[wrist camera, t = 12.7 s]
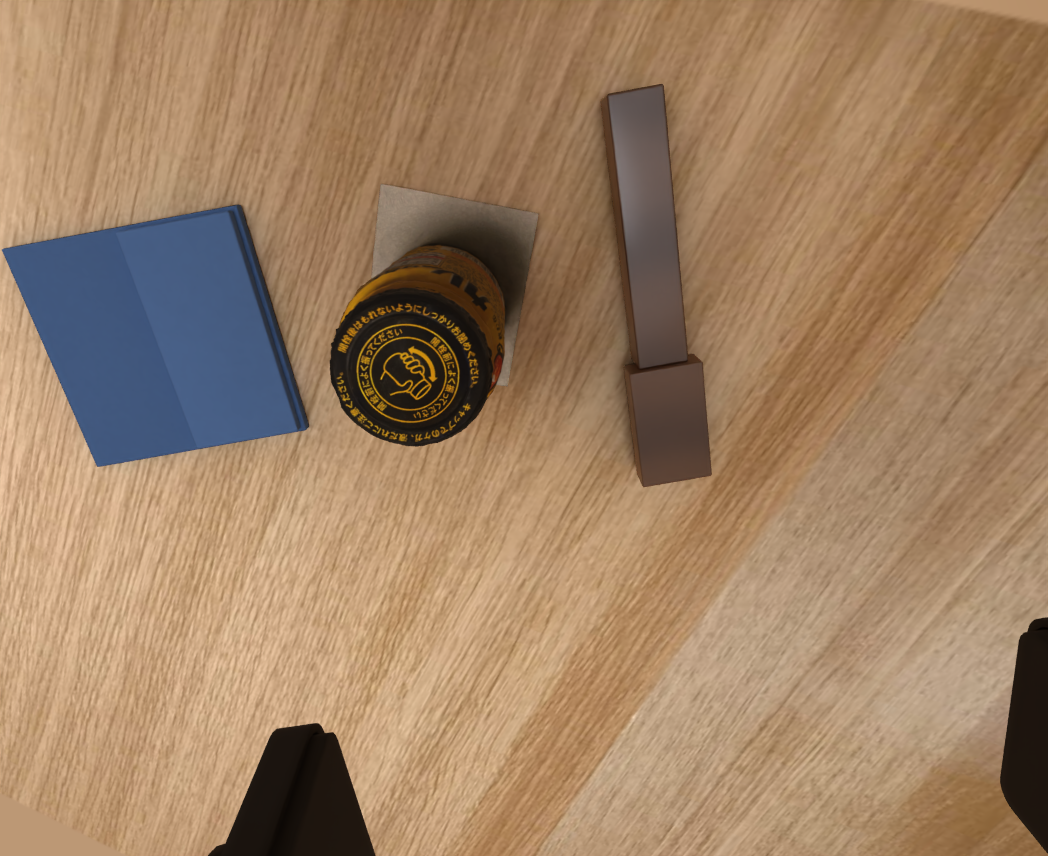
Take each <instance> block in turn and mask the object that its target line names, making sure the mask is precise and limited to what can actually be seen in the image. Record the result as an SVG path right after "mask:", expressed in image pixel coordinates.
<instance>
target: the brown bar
mask: <svg viewBox="0 0 1048 856" xmlns="http://www.w3.org/2000/svg"><path fill="white" fill-rule="evenodd" d="M600 103H601V111H602V119H603V127H604V136H605V144H606V152H607V161H608V169H609V177H610V185H611V194H612V202H613V210H614V219H615V227H616V235H617V243H618V252H619V260H620V268H621V277H622V285H623V293H624V301H625V310H626V318H627V326H628V335H629V343H630V351H631V359H632V360H633V361H634V364H628V365H624V374H625V382H626V390H627V398H628V406H629V414H630V422H631V430H632V438H633V446H634V454H635V462H636V470H637V475H638V477H639V479H640V482H641V484H642V486H643V487H648V486H654V485H660V484H665V483H671V482H677V481H683V480H689V479H695V478H700V477H706V476H711V475H712V473H711V460H710V448H709V436H708V424H707V411H706V399H705V387H704V375H703V363H702V361H701V360H700V359H698V358H697V357H696V356H695V355H694V354H689V355H688V351H687V340H686V329H685V317H684V306H683V295H682V284H681V273H680V262H679V250H678V239H677V228H676V217H675V206H674V195H673V183H672V172H671V161H670V150H669V139H668V128H667V116H666V105H665V94H664V86H663V84H658V85H653V86H648V87H642V88H637V89H632V90H627V91H621V92H616V93H611V94H608V95H606V96H605V97H604V98H603V99H602V100H601V101H600Z"/></svg>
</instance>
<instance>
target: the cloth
mask: <svg viewBox="0 0 1048 856" xmlns="http://www.w3.org/2000/svg"><path fill="white" fill-rule="evenodd" d="M2 251H3V254H4V256H5V258H6V260H7V263H8V265H9V267H10V269H11V272H12V274H13V276H14V279H15V281H16V283H17V285H18V288H19V290H20V292H21V294H22V297H23V299H24V301H25V304H26V306H27V308H28V310H29V313H30V315H31V317H32V319H33V322H34V324H35V326H36V329H37V331H38V333H39V335H40V338H41V340H42V342H43V344H44V347H45V349H46V351H47V354H48V356H49V358H50V360H51V363H52V365H53V367H54V369H55V372H56V374H57V376H58V379H59V381H60V383H61V385H62V388H63V390H64V392H65V394H66V397H67V399H68V401H69V404H70V406H71V408H72V410H73V413H74V415H75V417H76V419H77V422H78V424H79V426H80V429H81V431H82V433H83V435H84V438H85V440H86V442H87V445H88V447H89V449H90V451H91V454H92V456H93V458H94V460H95V463H96V465H97V467H100V466H106V465H112V464H117V463H123V462H129V461H134V460H140V459H146V458H151V457H157V456H163V455H168V454H174V453H179V452H185V451H191V450H196V449H202V448H208V447H213V446H219V445H225V444H230V443H236V442H242V441H247V440H253V439H259V438H264V437H270V436H276V435H281V434H287V433H292V432H298V431H304V430H306V429H307V428H308V427H309V424H308V421H307V418H306V414H305V411H304V408H303V405H302V401H301V398H300V395H299V392H298V389H297V385H296V382H295V379H294V376H293V372H292V369H291V366H290V363H289V359H288V356H287V353H286V350H285V346H284V343H283V340H282V337H281V333H280V330H279V327H278V324H277V321H276V317H275V314H274V311H273V308H272V304H271V301H270V298H269V295H268V291H267V288H266V285H265V282H264V278H263V275H262V272H261V269H260V266H259V262H258V259H257V256H256V253H255V249H254V246H253V243H252V240H251V236H250V233H249V230H248V227H247V223H246V220H245V217H244V214H243V211H242V207H241V205H233V206H228V207H223V208H217V209H212V210H207V211H201V212H196V213H191V214H185V215H180V216H175V217H170V218H164V219H159V220H154V221H148V222H143V223H138V224H132V225H127V226H122V227H116V228H111V229H106V230H100V231H95V232H90V233H84V234H79V235H74V236H68V237H63V238H58V239H53V240H47V241H42V242H37V243H31V244H26V245H21V246H15V247H10V248H5V249H2Z"/></svg>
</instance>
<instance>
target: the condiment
mask: <svg viewBox="0 0 1048 856" xmlns="http://www.w3.org/2000/svg"><path fill="white" fill-rule="evenodd" d="M537 220H538V213H533V212H528V211H521V210H517V209H512V208H507V207H502V206H496V205H490V204H486V203H481V202H475V201H470V200H465V199H460V198H454V197H449V196H445V195H439V194H433V193H428V192H423V191H417V190H412V189H406V188H401V187H396V186H391V185H385V184H381V185H380V195H379V204H378V216H377V224H376V237H375V245H374V253H373V265H372V277H371V280H369V281H368V282H367V283H366V284H365V285H363V286H361V287H360V288H359V289H358V290H357V292H356V294H355V296H354V298H353V299H352V300H351V301H350V302H349V304H348V306H347V308H346V311H345V312H344V313H343V316H342V318H341V321H340V325H339V328H338V329H336V335H335V338H334V342H333V343H331V346H332V349H331V360H330V375H331V383H332V385H333V387H334V389H335V391H336V394H337V396H338V397H339V400H340V404H341V408H342V409H343V410H344V412H345V413H346V414H347V415H348V416H349V418H351V419H352V420H353V421H354V422H355V423H356V424H357V425H358V426H360V427H361V428H363V429H364V430H365V431H367V432H368V433H370V434H371V435H373V436H375V437H377V438H379V439H382V440H385V441H389V442H392V443H396V444H401V445H405V446H424V445H427V444H432V443H438V442H441V441H443V440H445V439H448V438H450V437H452V436H454V435H456V434H457V433H459V432H461V431H462V430H463V429H465V428H467V426H468V425H469V424H470V423H471V422H472V421H473V420H474V419H475V418H476V417H477V416H478V414H479V412H480V411H481V410H482V408H483V406H484V404H485V402H486V400H487V398H488V397H489V396H490V394H491V393H492V392H493V390H494V388H495V386H496V385H501V386H508V381H509V375H510V369H511V364H512V358H513V352H514V347H515V342H516V336H517V330H518V325H519V319H520V313H521V308H522V303H523V297H524V292H525V287H526V281H527V275H528V270H529V264H530V259H531V253H532V247H533V242H534V237H535V231H536V225H537Z"/></svg>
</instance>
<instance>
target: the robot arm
mask: <svg viewBox="0 0 1048 856" xmlns="http://www.w3.org/2000/svg"><path fill="white" fill-rule="evenodd" d="M1000 783H1001V788H1002V791H1003V794H1004V797H1005V799H1006V801H1007V802H1008V804H1009V806H1010V807H1011V809H1012V810H1013V812H1014V813H1015V814H1016V815H1017V816H1018V818H1019V819H1020V820H1021V821H1022V823H1023V824H1024V825H1025V826H1026V828H1027V829H1028V830H1029V831H1030V832H1031V834H1032V835H1033V836H1034V837H1035V839H1036V840H1037V841H1038V842H1039V843H1040V845H1041V846H1042V847H1043V848H1044V850H1045V851H1046V852H1047V853H1048V617H1047V618H1040V619H1036V620H1034V621H1033V622H1032V623H1031V624H1030V625H1029V628H1028V632H1025V633H1023V634H1022V635H1021V636H1020V639H1019V644H1018V652H1017V659H1016V666H1015V674H1014V681H1013V688H1012V695H1011V703H1010V710H1009V717H1008V725H1007V732H1006V739H1005V746H1004V754H1003V761H1002V768H1001V776H1000ZM208 856H375V853H374V849H373V846H372V843H371V840H370V837H369V834H368V831H367V828H366V825H365V822H364V819H363V816H362V813H361V810H360V807H359V804H358V800H357V797H356V794H355V791H354V788H353V785H352V782H351V779H350V776H349V773H348V770H347V767H346V764H345V761H344V758H343V754H342V751H341V748H340V745H339V742H338V739H337V737H336V735H335V734H334V733H333V732H331V733H324V730H323V728H322V726H321V725H320V724H319V723H314V724H307V725H300V726H293V727H286V728H279V729H276V730H275V731H274V732H273V733H272V735H271V736H270V738H269V740H268V743H267V745H266V748H265V750H264V752H263V755H262V757H261V760H260V762H259V764H258V767H257V769H256V772H255V774H254V776H253V779H252V781H251V784H250V786H249V788H248V791H247V793H246V796H245V798H244V800H243V803H242V805H241V808H240V810H239V812H238V815H237V817H236V820H235V822H234V824H233V827H232V829H231V832H230V834H229V837H228V839H227V841H226V844H222V845H219V846H216V848H215V849H214V850H213V851H212V852H211V853H210V854H209V855H208Z"/></svg>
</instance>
